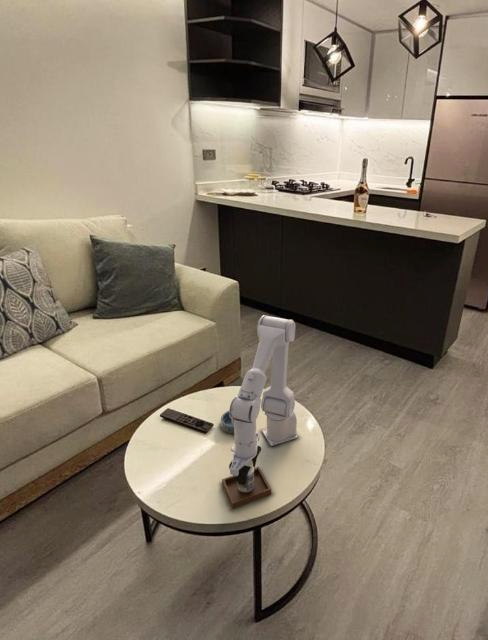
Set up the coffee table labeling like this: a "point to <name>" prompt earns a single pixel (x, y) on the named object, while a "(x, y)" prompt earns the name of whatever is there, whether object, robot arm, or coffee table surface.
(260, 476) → the tray
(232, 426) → the bowl
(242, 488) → the pill bottle
